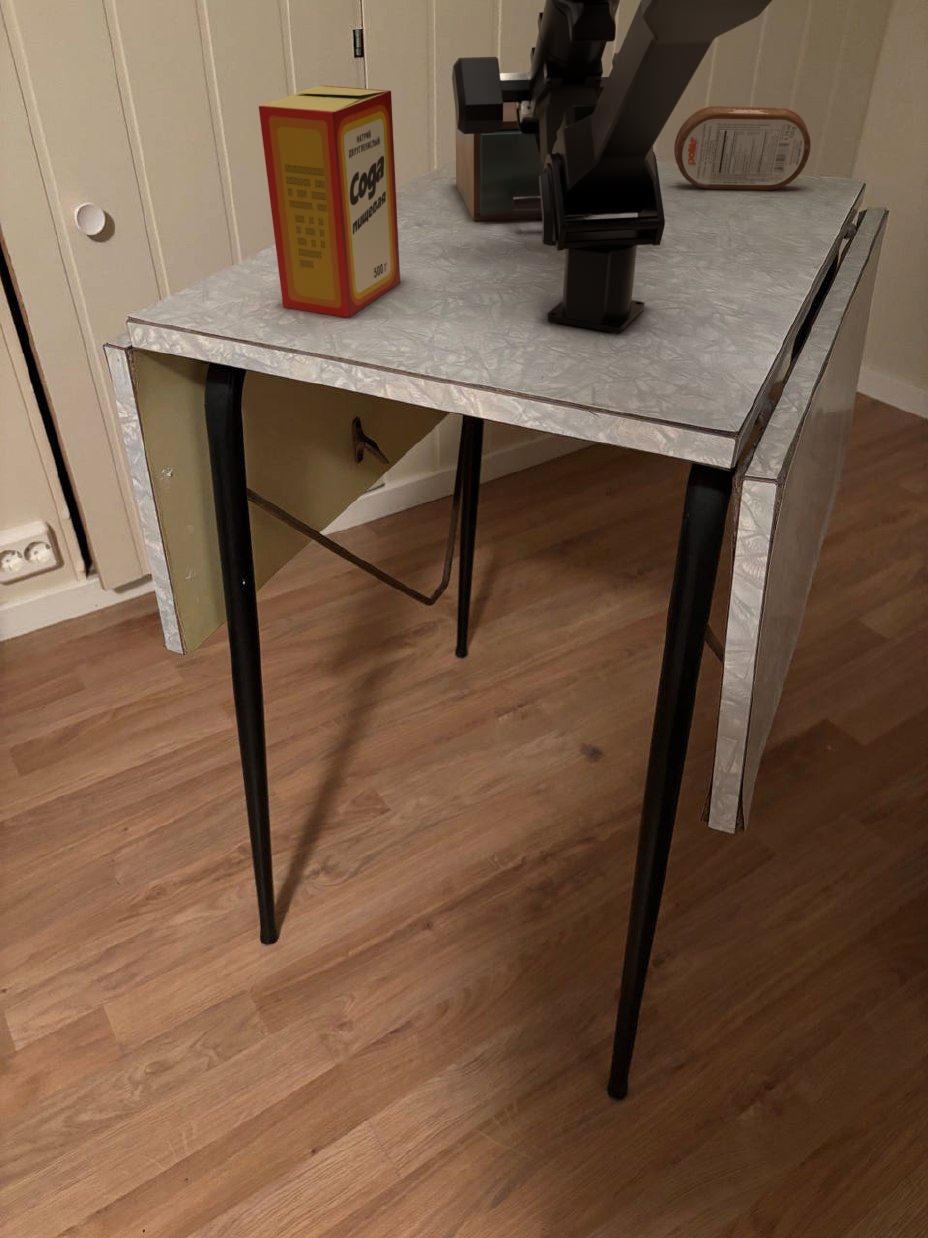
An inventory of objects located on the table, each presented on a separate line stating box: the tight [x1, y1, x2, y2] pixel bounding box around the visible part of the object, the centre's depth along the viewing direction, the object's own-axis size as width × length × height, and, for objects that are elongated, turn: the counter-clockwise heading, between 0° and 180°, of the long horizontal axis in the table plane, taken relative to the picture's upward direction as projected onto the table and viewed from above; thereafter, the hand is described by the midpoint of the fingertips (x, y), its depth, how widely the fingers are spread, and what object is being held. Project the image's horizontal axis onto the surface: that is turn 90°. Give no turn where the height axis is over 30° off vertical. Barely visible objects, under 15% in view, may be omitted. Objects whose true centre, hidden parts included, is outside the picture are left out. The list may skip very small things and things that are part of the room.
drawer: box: [479, 129, 544, 215], centre depth 105 cm, size 18×11×8 cm, turn 8°
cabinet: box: [454, 102, 590, 222], centre depth 108 cm, size 15×13×10 cm
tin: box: [673, 105, 812, 191], centre depth 112 cm, size 15×3×8 cm, turn 84°
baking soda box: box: [258, 85, 401, 319], centre depth 82 cm, size 10×6×16 cm
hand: (542, 148), depth 97 cm, fingers closed
